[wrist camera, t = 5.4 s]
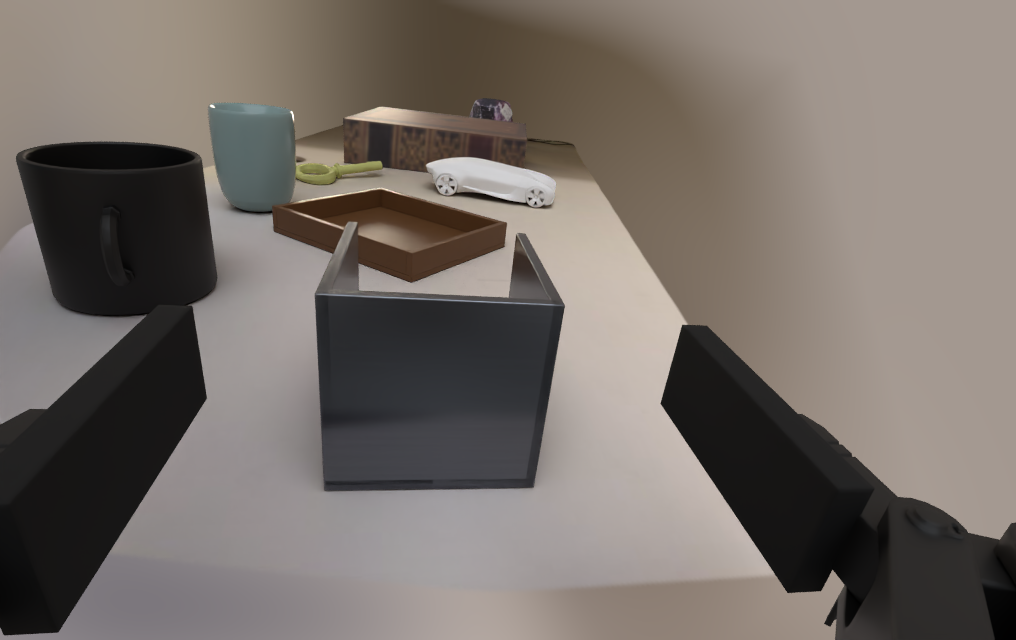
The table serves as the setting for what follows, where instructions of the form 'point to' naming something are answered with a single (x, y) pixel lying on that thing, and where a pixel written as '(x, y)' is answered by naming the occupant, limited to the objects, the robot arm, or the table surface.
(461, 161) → the toy car
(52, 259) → the mug
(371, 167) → the key
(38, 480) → the robot arm
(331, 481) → the grey open-sided box
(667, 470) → the table surface
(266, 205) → the cup
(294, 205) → the tray
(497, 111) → the mineral specimen
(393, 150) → the book
